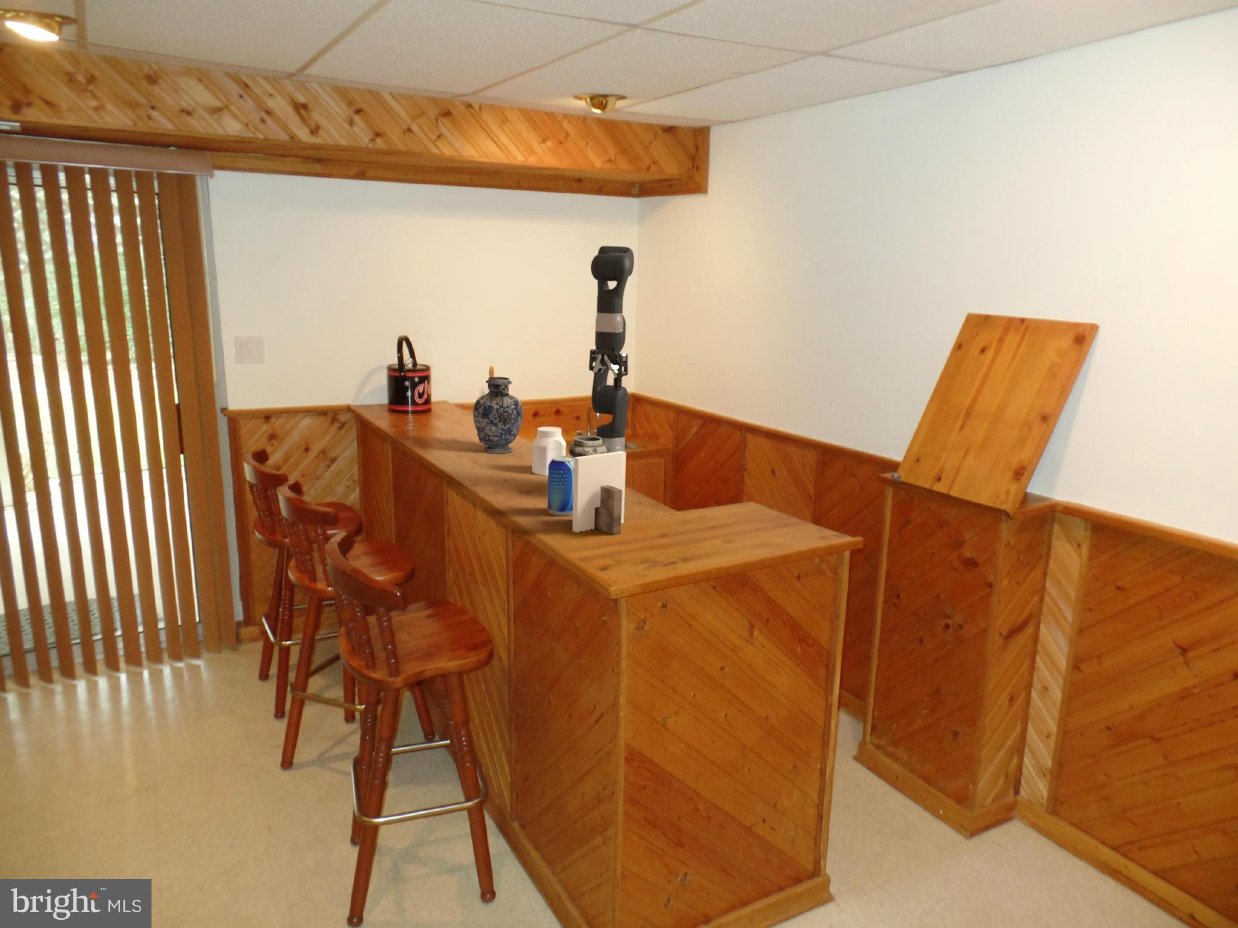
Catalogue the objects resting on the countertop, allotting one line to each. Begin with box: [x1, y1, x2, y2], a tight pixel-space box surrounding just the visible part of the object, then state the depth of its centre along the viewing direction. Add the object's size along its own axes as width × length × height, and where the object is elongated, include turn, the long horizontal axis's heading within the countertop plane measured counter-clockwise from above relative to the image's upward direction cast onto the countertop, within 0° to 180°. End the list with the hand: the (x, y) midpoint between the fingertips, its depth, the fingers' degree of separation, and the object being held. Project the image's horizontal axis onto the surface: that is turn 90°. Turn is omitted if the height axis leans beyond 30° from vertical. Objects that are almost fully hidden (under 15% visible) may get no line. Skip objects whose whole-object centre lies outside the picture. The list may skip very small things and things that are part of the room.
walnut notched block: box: [594, 485, 622, 536], centre depth 229 cm, size 16×2×12 cm, turn 39°
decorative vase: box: [472, 376, 524, 455], centre depth 320 cm, size 21×19×28 cm
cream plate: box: [572, 451, 627, 533], centre depth 228 cm, size 16×2×20 cm, turn 129°
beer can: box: [547, 455, 574, 517], centre depth 242 cm, size 8×8×16 cm
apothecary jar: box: [568, 435, 607, 457], centre depth 261 cm, size 12×12×18 cm
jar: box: [531, 426, 567, 476], centre depth 290 cm, size 12×10×15 cm
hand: (607, 389), depth 234 cm, fingers open, 8 cm apart
